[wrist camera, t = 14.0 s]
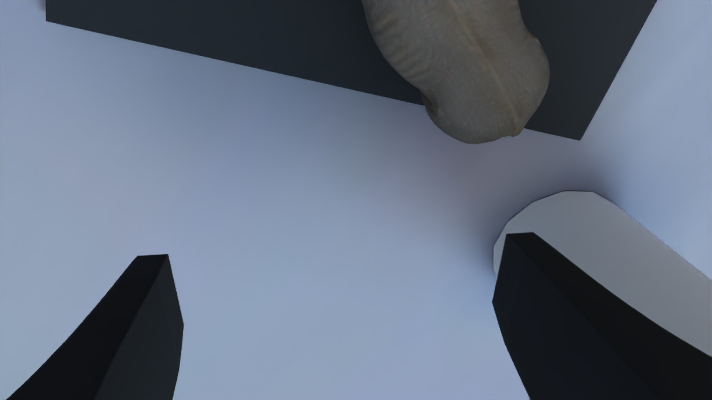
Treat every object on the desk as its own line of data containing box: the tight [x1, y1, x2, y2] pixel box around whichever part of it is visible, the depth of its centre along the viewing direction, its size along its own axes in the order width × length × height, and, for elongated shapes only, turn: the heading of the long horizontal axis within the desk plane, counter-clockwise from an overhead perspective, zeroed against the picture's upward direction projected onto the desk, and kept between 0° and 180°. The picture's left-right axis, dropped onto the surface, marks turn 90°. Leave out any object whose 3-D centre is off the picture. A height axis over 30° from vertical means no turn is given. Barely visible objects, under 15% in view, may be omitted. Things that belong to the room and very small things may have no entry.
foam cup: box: [493, 191, 712, 400], centre depth 21 cm, size 10×9×13 cm
